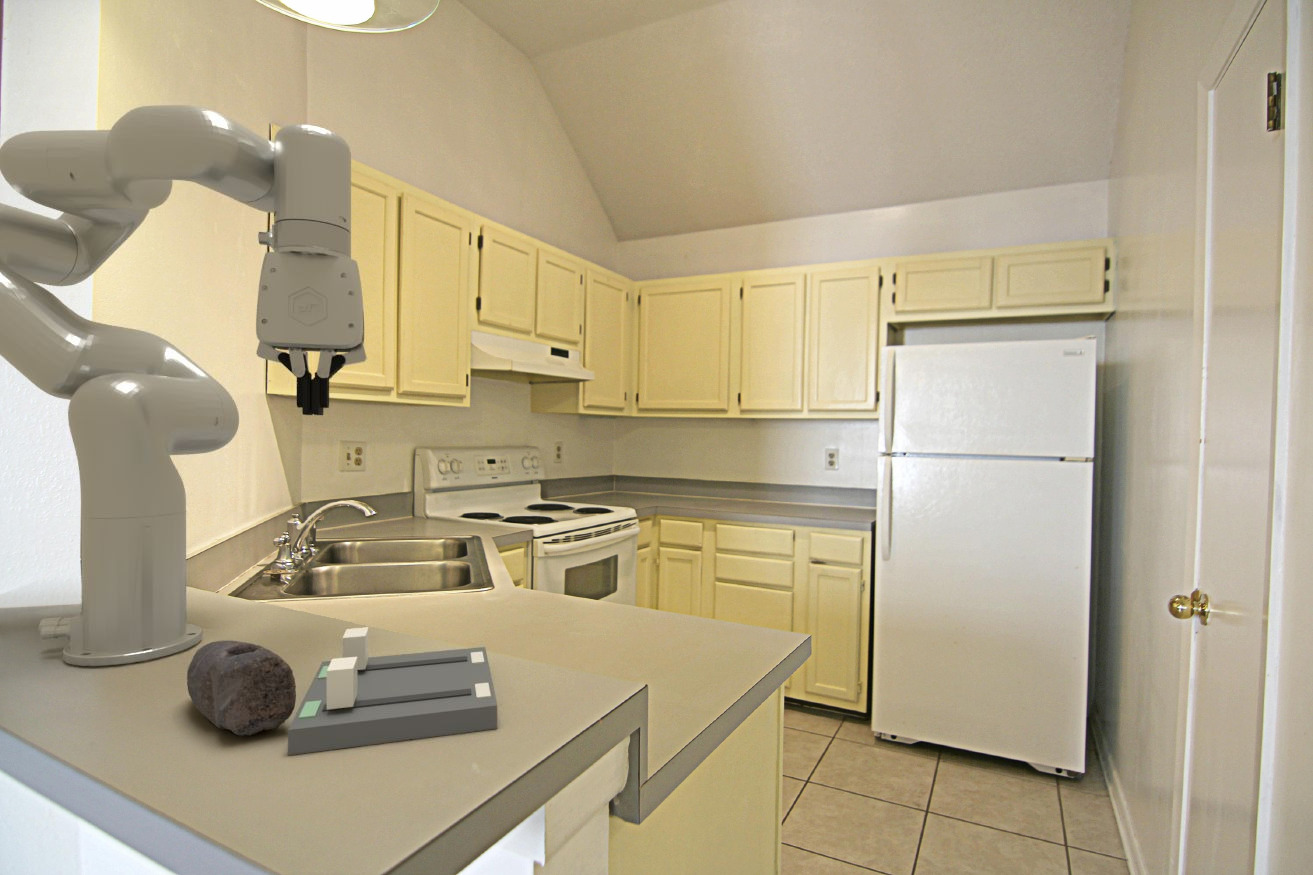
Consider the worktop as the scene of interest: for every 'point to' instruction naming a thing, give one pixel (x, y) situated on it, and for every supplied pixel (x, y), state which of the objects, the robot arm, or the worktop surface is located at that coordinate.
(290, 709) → the perforated stone tool
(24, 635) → the worktop surface
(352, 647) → the block
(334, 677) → the block
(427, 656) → the slider switch panel
